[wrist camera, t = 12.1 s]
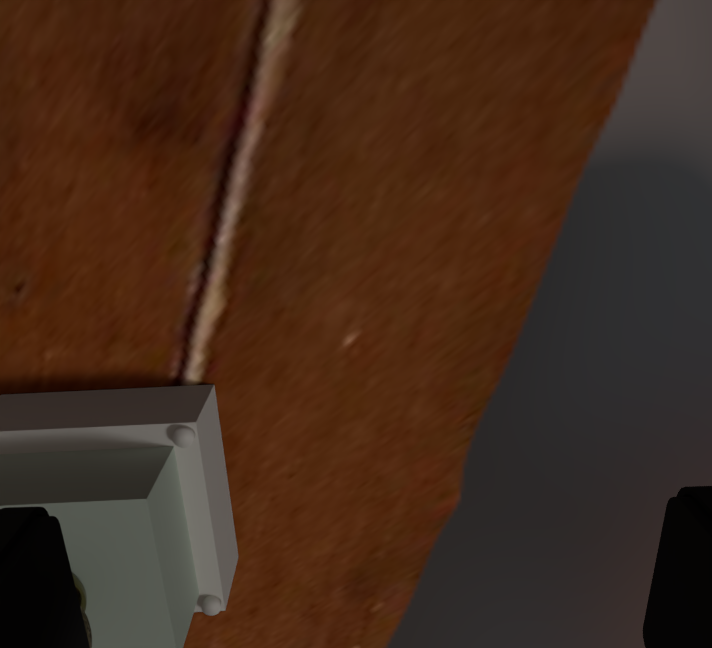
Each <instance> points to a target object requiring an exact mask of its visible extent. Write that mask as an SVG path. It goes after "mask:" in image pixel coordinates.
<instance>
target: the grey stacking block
mask: <svg viewBox="0 0 712 648" xmlns="http://www.w3.org/2000/svg"><path fill="white" fill-rule="evenodd" d="M8 507H44V508H45V509H46V510H47V511H48V514H49V516H55V517H56V518H57V519H58V520H59V523H60V526H61V530H62V534H63V538H64V542H65V547H66V551H67V555H68V559H69V563H70V567H71V571H72V574H73V575H74V576H76V577H77V578H78V579H79V580H80V581H81V582H82V584H83V586H84V588H85V590H86V595H87V605H86V610H85V614H86V615H87V618H88V620H89V624H90V627H91V633H92V648H183V646H184V642H185V639H186V636H187V633H188V629H189V626H190V623H191V619H192V616H193V613H194V612H204V613H205V614H207V615H216V614H218V613H219V611H225V610H226V606H227V601H228V597H229V593H230V589H231V585H232V581H233V577H234V573H235V569H236V564H237V560H238V550H237V543H236V536H235V529H234V522H233V515H232V508H231V500H230V493H229V486H228V479H227V472H226V465H225V458H224V450H223V443H222V436H221V429H220V422H219V415H218V408H217V401H216V393H215V386H214V385H193V386H172V387H151V388H130V389H109V390H88V391H67V392H46V393H25V394H4V395H0V509H2V508H8Z"/></svg>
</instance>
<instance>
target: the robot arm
mask: <svg viewBox="0 0 712 648" xmlns="http://www.w3.org/2000/svg"><path fill="white" fill-rule="evenodd" d="M643 638H644V643H645V647H646V648H712V486H697V487H684V488H681V489H680V491H679V492H678V494H677V497H672V498H670V499H669V501H668V503H667V507H666V512H665V517H664V522H663V527H662V532H661V538H660V543H659V548H658V553H657V558H656V563H655V568H654V573H653V579H652V584H651V589H650V594H649V599H648V604H647V609H646V615H645V620H644V625H643ZM0 648H90V646H89V641H88V637H87V633H86V629H85V624H84V620H83V616H82V612H81V608H80V604H79V600H78V596H77V592H76V588H75V583H74V579H73V575H72V571H71V567H70V563H69V559H68V555H67V551H66V547H65V542H64V538H63V534H62V530H61V526H60V523H59V520H58V519H57V518H56V517H55V516H49V514H48V511H47V510H46V509H45V508H44V507H8V508H2V509H0Z"/></svg>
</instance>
